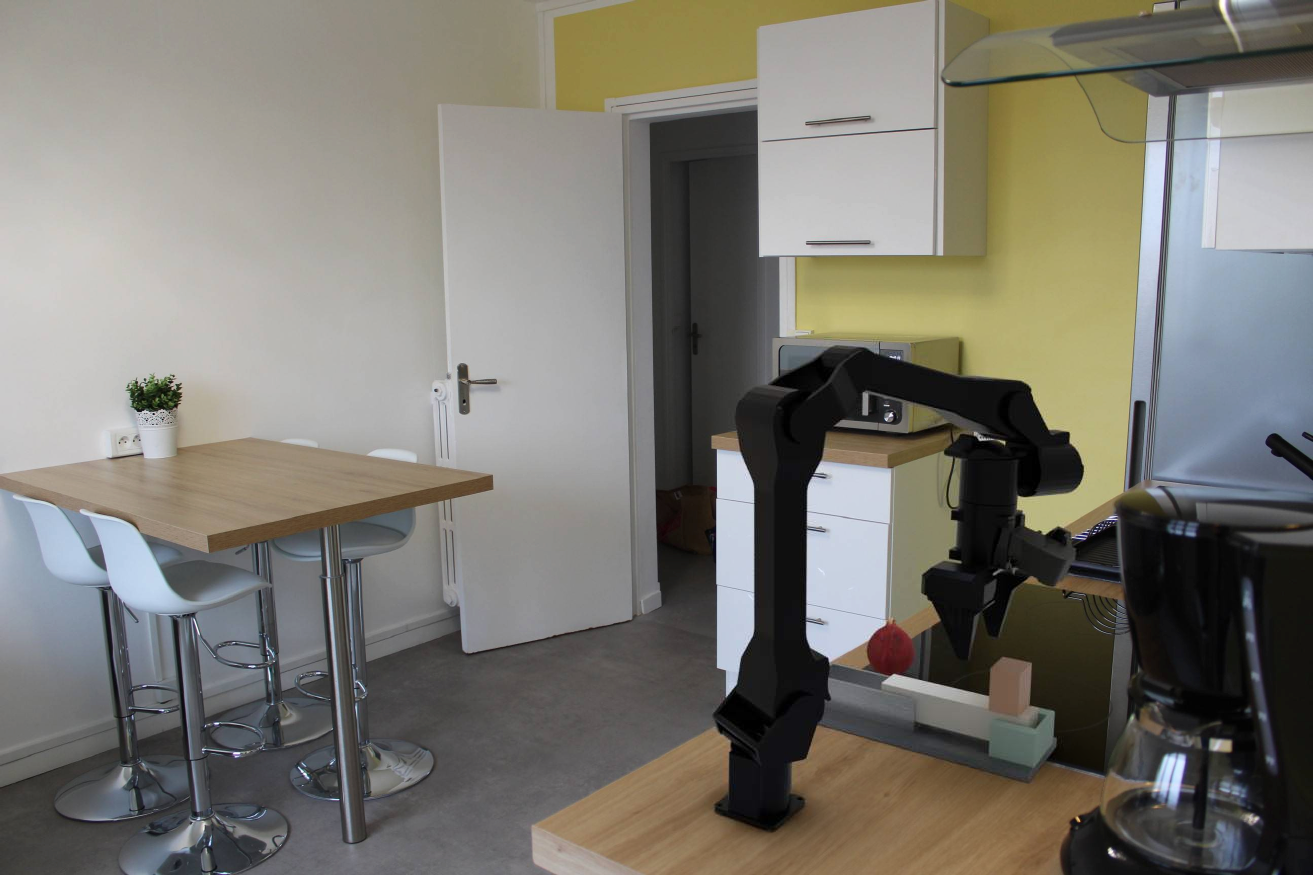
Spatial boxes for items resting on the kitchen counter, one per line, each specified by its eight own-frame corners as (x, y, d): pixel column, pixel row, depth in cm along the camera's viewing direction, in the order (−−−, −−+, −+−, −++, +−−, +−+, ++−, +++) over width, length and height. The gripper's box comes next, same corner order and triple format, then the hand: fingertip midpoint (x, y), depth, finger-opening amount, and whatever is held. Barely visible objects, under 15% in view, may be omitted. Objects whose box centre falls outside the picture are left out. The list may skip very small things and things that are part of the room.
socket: (1033, 767, 101) (1035, 734, 101) (988, 755, 104) (990, 723, 103) (1052, 742, 107) (1054, 711, 106) (1009, 731, 109) (1011, 701, 109)
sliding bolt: (1026, 751, 103) (1030, 676, 102) (879, 713, 112) (881, 644, 111) (1037, 737, 106) (1041, 664, 105) (893, 701, 116) (896, 634, 114)
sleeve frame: (1028, 782, 100) (1030, 739, 99) (796, 717, 115) (796, 680, 115) (1056, 746, 108) (1058, 706, 107) (835, 690, 123) (836, 655, 123)
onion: (918, 689, 124) (920, 626, 122) (870, 689, 124) (872, 626, 123) (907, 671, 129) (909, 611, 128) (862, 671, 130) (864, 611, 128)
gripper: (1041, 527, 91) (1030, 694, 93) (1094, 497, 105) (1083, 641, 108) (923, 510, 97) (915, 666, 99) (988, 484, 112) (980, 620, 114)
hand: (978, 647), depth 105 cm, fingers open, 9 cm apart
